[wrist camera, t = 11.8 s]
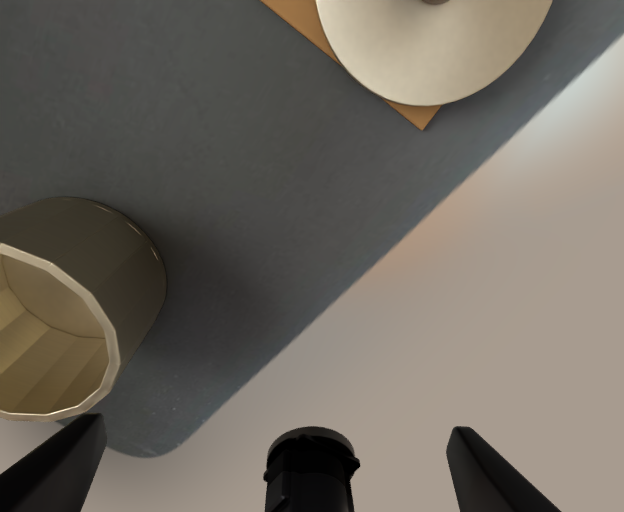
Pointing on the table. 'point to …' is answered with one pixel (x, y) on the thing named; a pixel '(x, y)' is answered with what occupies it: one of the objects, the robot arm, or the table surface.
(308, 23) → the mat
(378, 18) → the lid
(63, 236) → the pot
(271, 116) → the table surface
